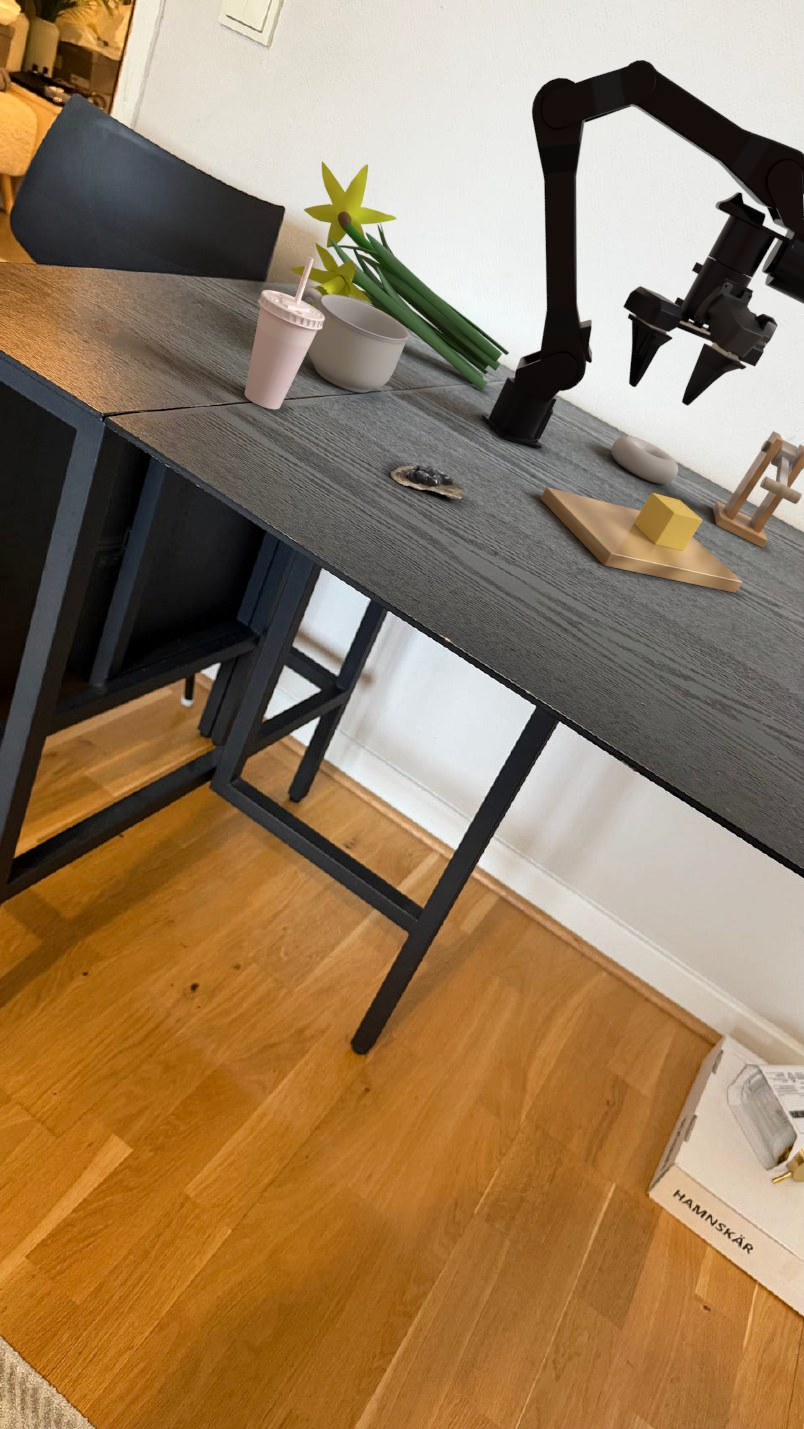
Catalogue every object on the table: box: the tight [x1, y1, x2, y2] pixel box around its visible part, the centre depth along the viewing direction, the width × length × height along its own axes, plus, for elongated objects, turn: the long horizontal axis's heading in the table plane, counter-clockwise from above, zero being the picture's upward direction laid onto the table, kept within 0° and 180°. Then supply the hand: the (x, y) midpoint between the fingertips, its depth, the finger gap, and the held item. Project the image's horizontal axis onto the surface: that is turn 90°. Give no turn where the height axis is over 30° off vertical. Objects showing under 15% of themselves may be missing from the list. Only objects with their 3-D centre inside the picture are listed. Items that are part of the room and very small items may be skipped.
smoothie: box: [244, 256, 325, 410], centre depth 91 cm, size 6×6×14 cm
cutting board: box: [540, 486, 743, 594], centre depth 106 cm, size 20×14×2 cm
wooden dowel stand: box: [712, 430, 804, 549], centre depth 128 cm, size 8×7×13 cm
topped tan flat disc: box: [390, 464, 466, 501], centre depth 93 cm, size 7×8×2 cm
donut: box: [611, 435, 679, 485], centre depth 134 cm, size 10×3×10 cm
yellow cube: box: [634, 492, 703, 551], centre depth 105 cm, size 4×4×4 cm
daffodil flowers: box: [289, 161, 510, 392], centre depth 132 cm, size 17×15×35 cm
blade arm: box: [759, 439, 803, 505], centre depth 122 cm, size 11×5×2 cm, turn 167°
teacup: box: [301, 287, 410, 394], centre depth 110 cm, size 14×11×8 cm
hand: (658, 395), depth 117 cm, fingers open, 9 cm apart
